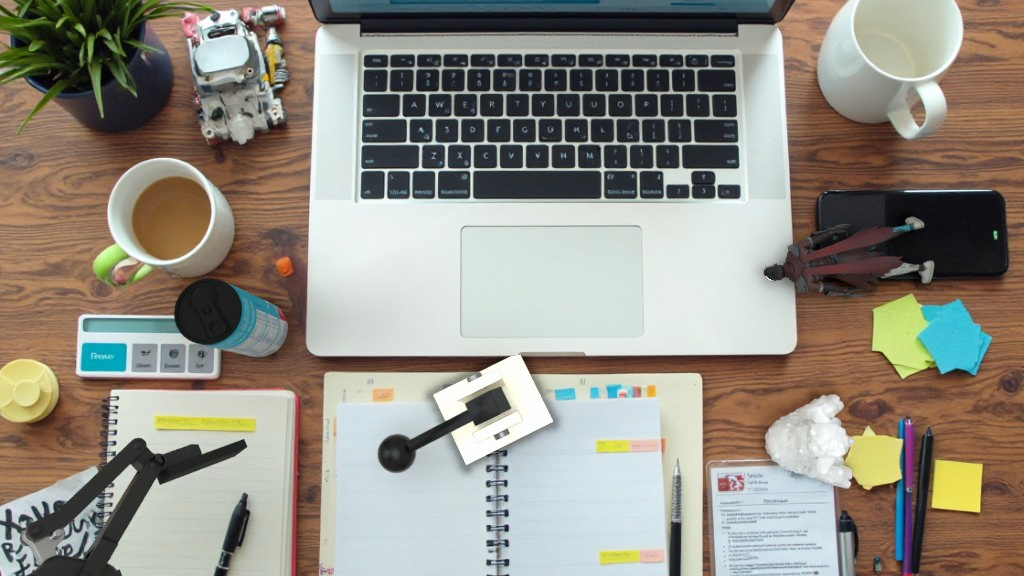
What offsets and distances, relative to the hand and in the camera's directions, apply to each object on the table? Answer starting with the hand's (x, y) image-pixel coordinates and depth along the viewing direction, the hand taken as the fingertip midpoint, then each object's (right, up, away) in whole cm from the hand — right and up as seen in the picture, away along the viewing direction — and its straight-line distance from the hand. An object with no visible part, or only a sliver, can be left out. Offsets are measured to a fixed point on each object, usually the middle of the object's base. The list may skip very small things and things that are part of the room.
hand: (271, 522), depth 64 cm
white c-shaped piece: (+18, +7, +17) cm, 26 cm away
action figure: (+55, +22, +19) cm, 62 cm away
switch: (+14, +6, +8) cm, 17 cm away
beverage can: (-7, +15, +19) cm, 25 cm away
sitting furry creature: (+50, +3, +16) cm, 53 cm away
